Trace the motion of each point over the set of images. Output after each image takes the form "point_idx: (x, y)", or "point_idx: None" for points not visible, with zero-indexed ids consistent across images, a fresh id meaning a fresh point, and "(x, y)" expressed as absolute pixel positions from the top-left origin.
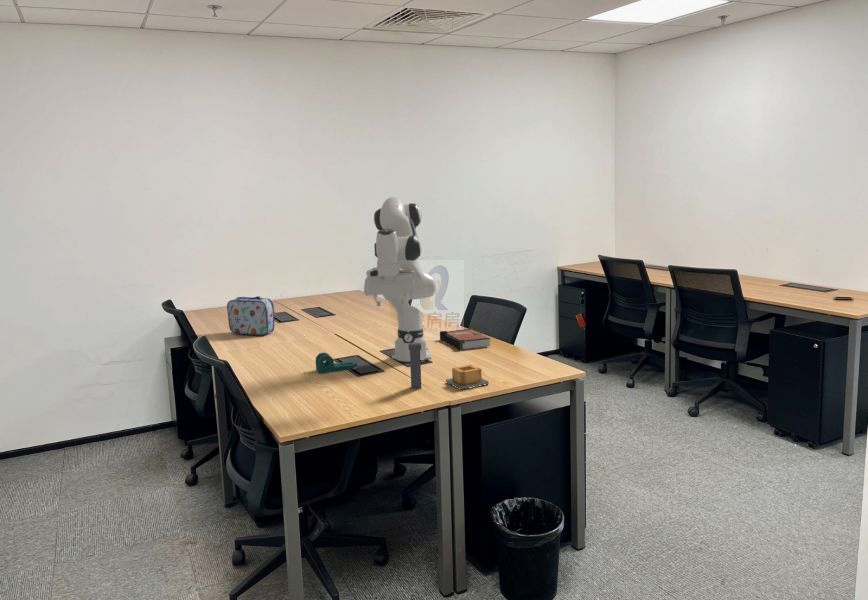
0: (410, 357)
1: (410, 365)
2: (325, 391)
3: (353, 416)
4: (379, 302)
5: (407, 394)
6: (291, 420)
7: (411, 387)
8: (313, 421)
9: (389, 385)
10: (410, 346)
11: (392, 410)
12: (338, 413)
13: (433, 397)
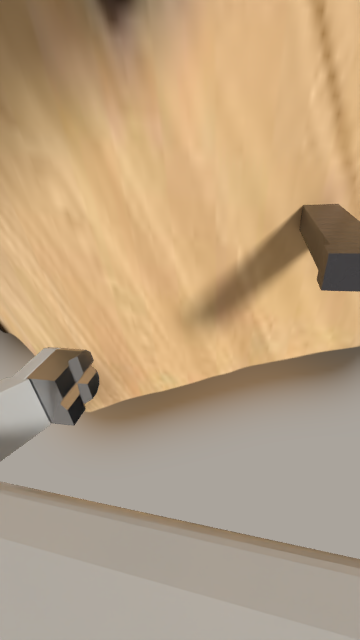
0: (317, 267)
1: (312, 243)
2: (63, 214)
3: (163, 376)
4: (70, 419)
5: (278, 276)
6: None
7: (300, 231)
8: (104, 380)
9: (233, 177)
10: (330, 287)
11: (233, 367)
12: (134, 358)
13: (344, 312)
